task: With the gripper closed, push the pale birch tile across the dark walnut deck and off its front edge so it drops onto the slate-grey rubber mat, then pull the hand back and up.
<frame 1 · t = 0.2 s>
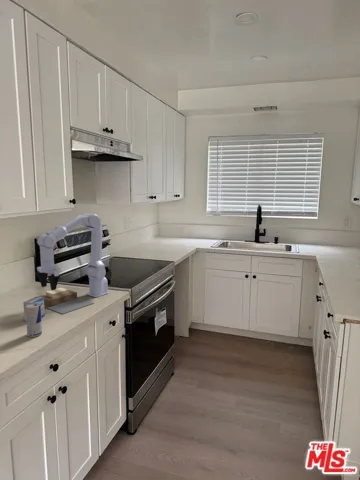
hand: (48, 288, 157), 10 cm above the countertop, tool pointing down, fingers open, 7 cm apart
energy drink: (34, 334, 130), on the countertop
birch tile: (57, 294, 167), point 3 cm above the countertop, touching walnut deck
slate mat: (71, 305, 161), on the countertop
walnut deck: (57, 301, 168), on the countertop
medicine box: (34, 318, 146), on the countertop
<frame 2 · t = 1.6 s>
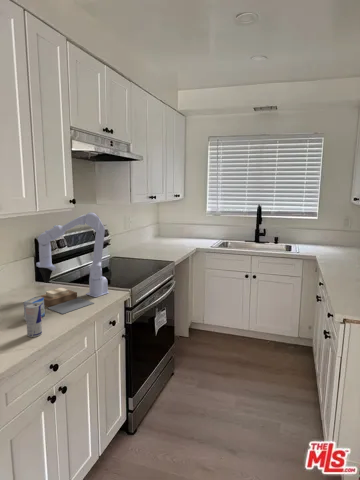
hand: (46, 281, 172), 8 cm above the countertop, tool pointing down, fingers closed
nothing on the countertop moved.
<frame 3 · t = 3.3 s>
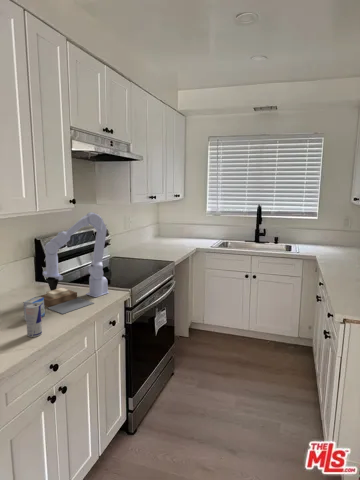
hand: (53, 291, 169), 4 cm above the countertop, tool pointing down, fingers closed
birch tile: (58, 294, 167), point 4 cm above the countertop, touching gripper, walnut deck
everything else where it was.
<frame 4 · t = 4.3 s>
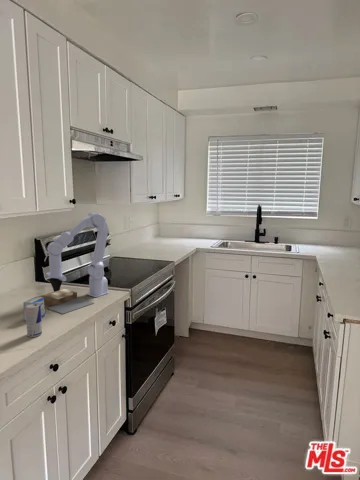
hand: (56, 292, 167), 4 cm above the countertop, tool pointing down, fingers closed
birch tile: (61, 295, 165), point 3 cm above the countertop, touching gripper, walnut deck
everything else where it was.
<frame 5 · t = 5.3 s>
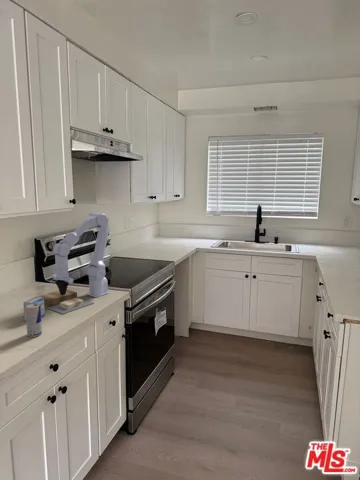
hand: (63, 294, 164), 4 cm above the countertop, tool pointing down, fingers closed
birch tile: (71, 301, 161), point 2 cm above the countertop, tilted 180°, touching slate mat
everything else where it was.
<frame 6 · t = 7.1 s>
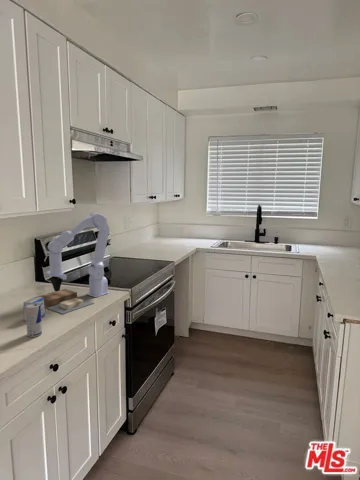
hand: (57, 290, 168), 5 cm above the countertop, tool pointing down, fingers closed
nothing on the countertop moved.
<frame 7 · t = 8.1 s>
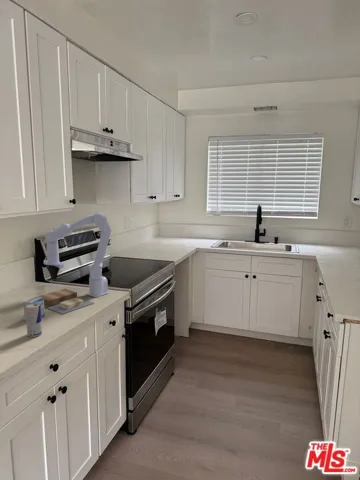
hand: (54, 279, 173), 9 cm above the countertop, tool pointing down, fingers closed
nothing on the countertop moved.
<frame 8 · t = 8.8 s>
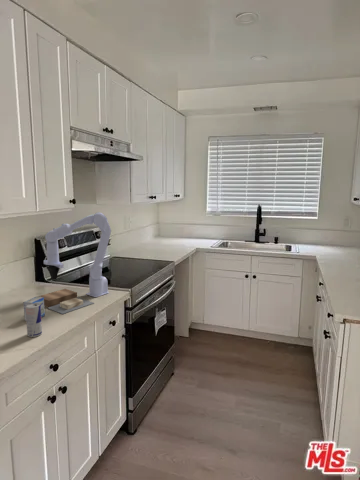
hand: (54, 279, 173), 9 cm above the countertop, tool pointing down, fingers closed
nothing on the countertop moved.
at the end: birch tile inside the target area on the slate mat (0.4 cm from its centre), point 2.4 cm above the slate mat's base; birch tile point 2.4 cm above the countertop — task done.
